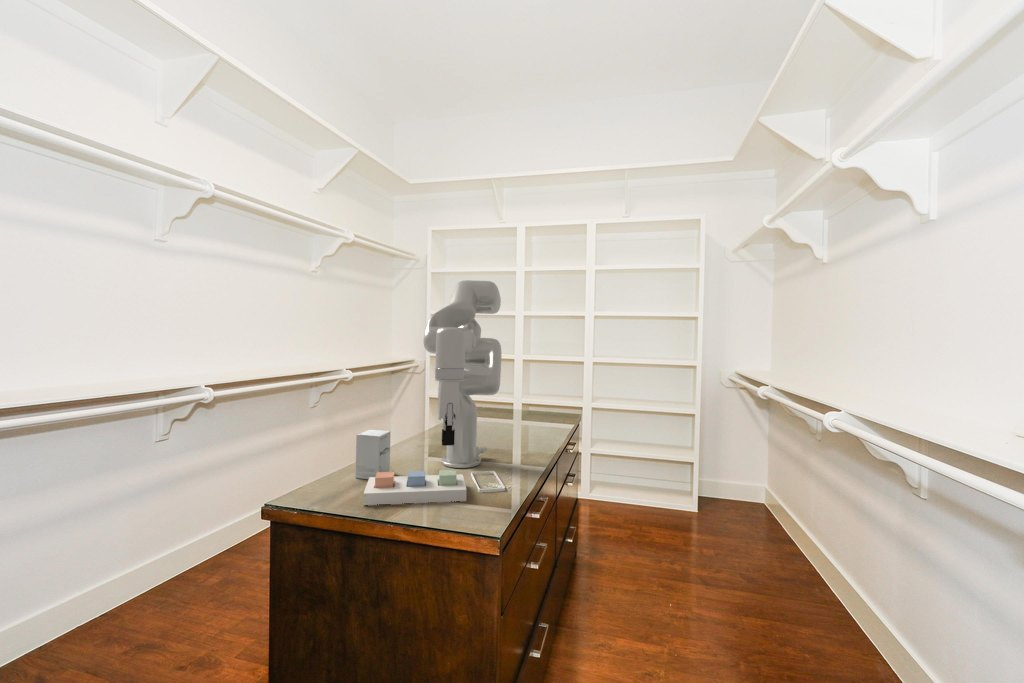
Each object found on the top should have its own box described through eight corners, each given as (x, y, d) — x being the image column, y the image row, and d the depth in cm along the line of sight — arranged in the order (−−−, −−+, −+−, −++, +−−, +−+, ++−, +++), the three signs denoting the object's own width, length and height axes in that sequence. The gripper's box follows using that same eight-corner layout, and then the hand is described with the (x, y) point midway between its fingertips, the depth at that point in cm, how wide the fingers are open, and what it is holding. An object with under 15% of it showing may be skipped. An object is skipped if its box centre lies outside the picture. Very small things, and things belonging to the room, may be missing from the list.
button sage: (455, 481, 125) (455, 469, 125) (456, 487, 121) (456, 475, 121) (438, 482, 125) (438, 470, 125) (439, 487, 120) (439, 475, 120)
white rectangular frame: (505, 492, 126) (494, 475, 140) (505, 487, 126) (494, 470, 140) (478, 494, 124) (470, 476, 139) (478, 489, 124) (470, 471, 139)
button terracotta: (394, 483, 123) (394, 471, 122) (392, 489, 118) (393, 477, 118) (376, 484, 122) (376, 472, 122) (375, 490, 117) (375, 477, 117)
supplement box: (378, 480, 131) (379, 436, 131) (354, 478, 133) (355, 434, 132) (390, 472, 139) (391, 430, 138) (367, 470, 140) (368, 428, 140)
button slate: (425, 482, 124) (425, 470, 124) (425, 488, 120) (425, 476, 120) (408, 483, 123) (408, 471, 123) (407, 489, 119) (407, 476, 119)
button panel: (462, 484, 130) (462, 474, 130) (466, 501, 118) (466, 489, 118) (369, 488, 125) (369, 477, 125) (363, 505, 113) (363, 493, 113)
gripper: (434, 372, 128) (432, 438, 129) (435, 377, 114) (434, 452, 114) (461, 372, 130) (460, 438, 130) (466, 377, 115) (464, 451, 115)
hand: (447, 444), depth 122 cm, fingers closed
